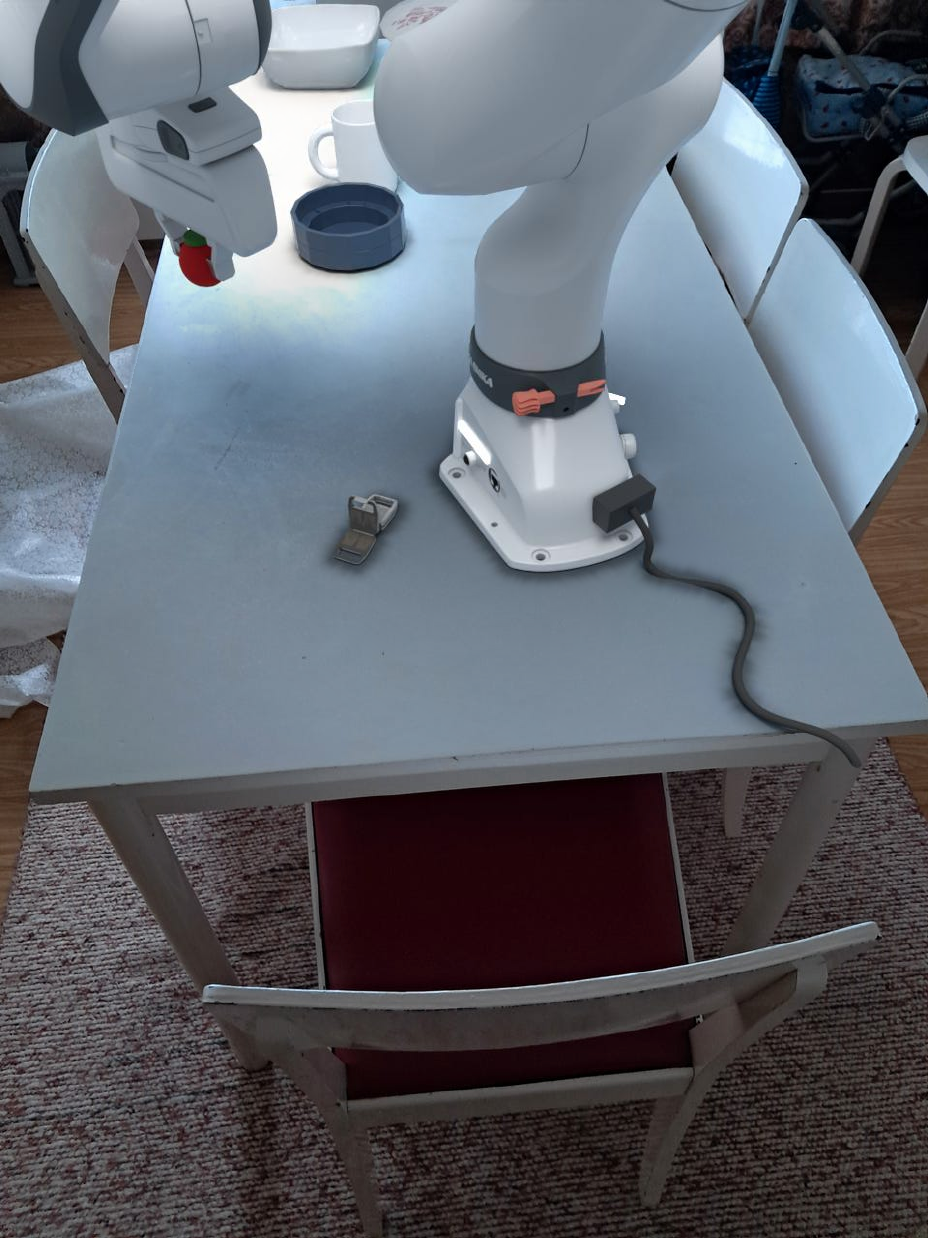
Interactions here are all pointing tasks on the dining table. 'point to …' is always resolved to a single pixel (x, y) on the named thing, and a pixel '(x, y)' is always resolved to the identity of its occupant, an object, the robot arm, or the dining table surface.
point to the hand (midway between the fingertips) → (205, 266)
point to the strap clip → (365, 525)
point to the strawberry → (196, 260)
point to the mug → (353, 147)
